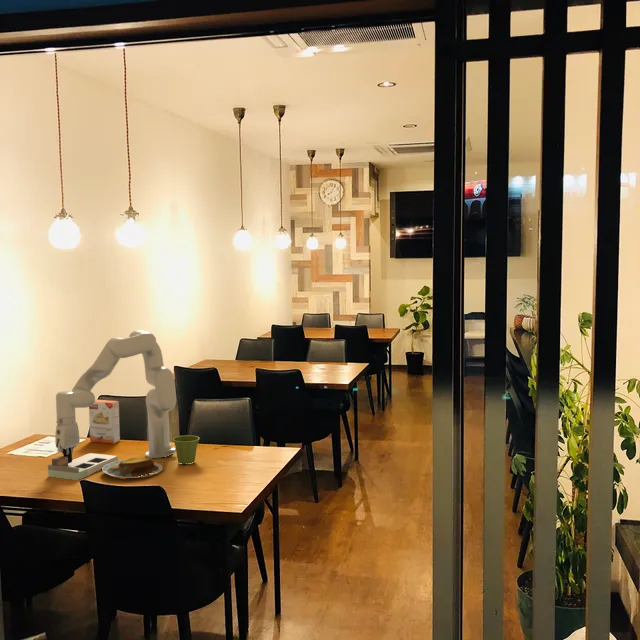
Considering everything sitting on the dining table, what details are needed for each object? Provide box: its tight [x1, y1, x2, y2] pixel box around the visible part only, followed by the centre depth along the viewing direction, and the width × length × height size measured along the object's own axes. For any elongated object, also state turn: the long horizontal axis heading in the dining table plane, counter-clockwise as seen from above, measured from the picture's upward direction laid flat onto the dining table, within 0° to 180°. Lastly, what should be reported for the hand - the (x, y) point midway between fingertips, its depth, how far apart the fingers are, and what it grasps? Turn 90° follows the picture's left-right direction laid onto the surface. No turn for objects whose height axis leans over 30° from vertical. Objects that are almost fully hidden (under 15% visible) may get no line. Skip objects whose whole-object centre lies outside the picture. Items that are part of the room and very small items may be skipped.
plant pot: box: [172, 434, 201, 464], centre depth 296 cm, size 12×12×11 cm
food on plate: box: [101, 456, 164, 480], centre depth 283 cm, size 25×25×7 cm
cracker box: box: [88, 399, 121, 445], centre depth 334 cm, size 14×6×21 cm, turn 73°
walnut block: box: [51, 455, 68, 466], centre depth 280 cm, size 4×4×4 cm
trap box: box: [47, 452, 119, 481], centre depth 288 cm, size 15×26×5 cm, turn 160°
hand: (67, 462), depth 284 cm, fingers closed
